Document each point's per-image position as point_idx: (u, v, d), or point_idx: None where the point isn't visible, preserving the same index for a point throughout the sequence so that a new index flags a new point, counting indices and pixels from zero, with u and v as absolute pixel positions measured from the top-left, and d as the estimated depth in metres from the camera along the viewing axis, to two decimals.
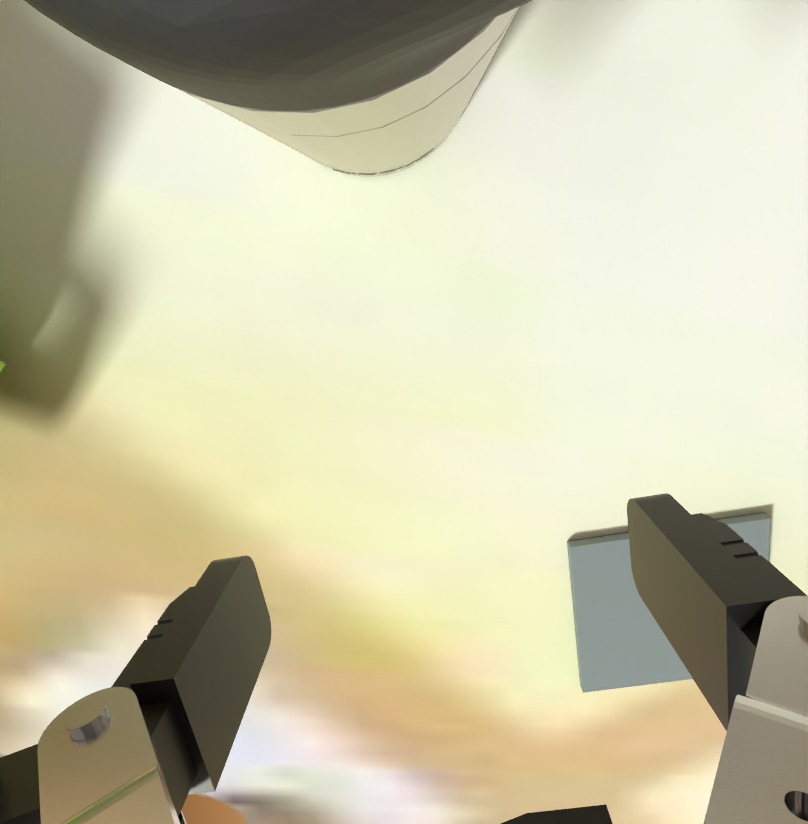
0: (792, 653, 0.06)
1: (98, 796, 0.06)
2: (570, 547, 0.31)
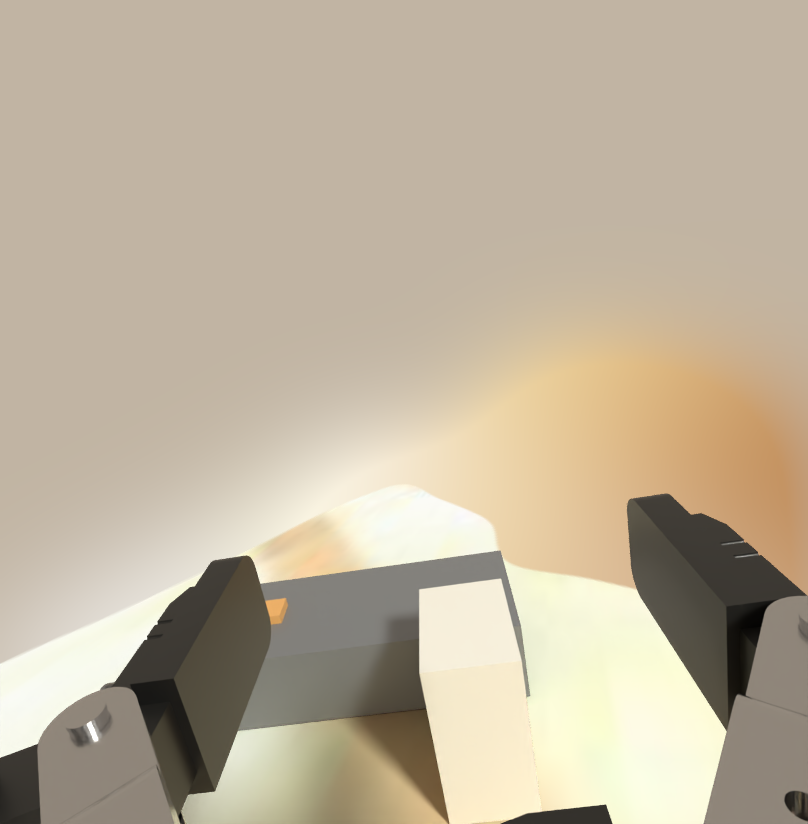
0: (793, 653, 0.06)
1: (98, 796, 0.06)
2: None
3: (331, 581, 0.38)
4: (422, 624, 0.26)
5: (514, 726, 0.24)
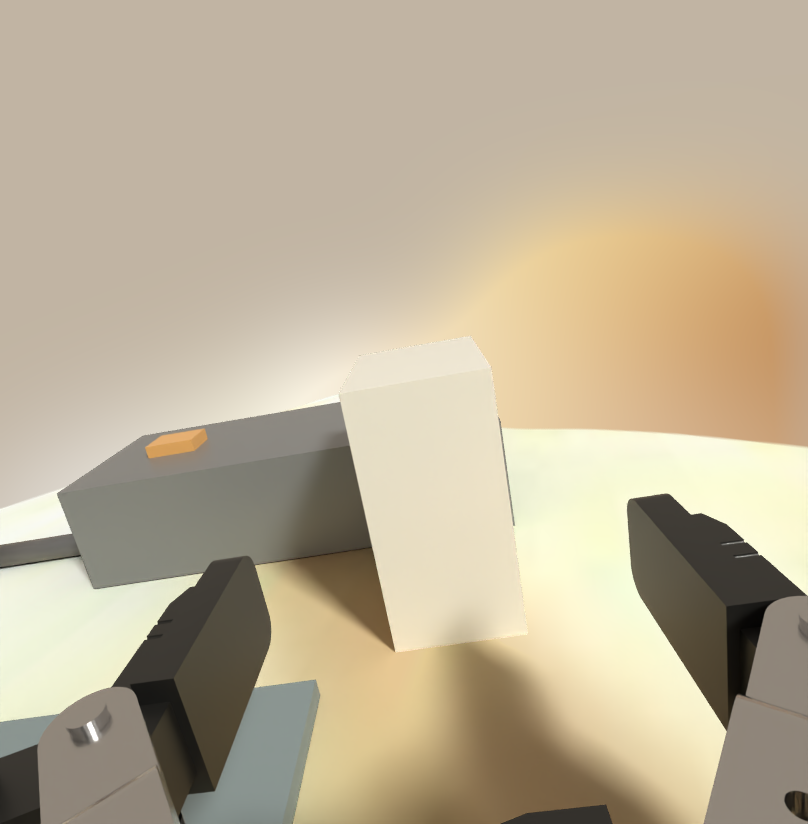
0: (793, 653, 0.06)
1: (98, 796, 0.06)
2: None
3: (267, 418, 0.31)
4: (355, 369, 0.19)
5: (483, 484, 0.16)
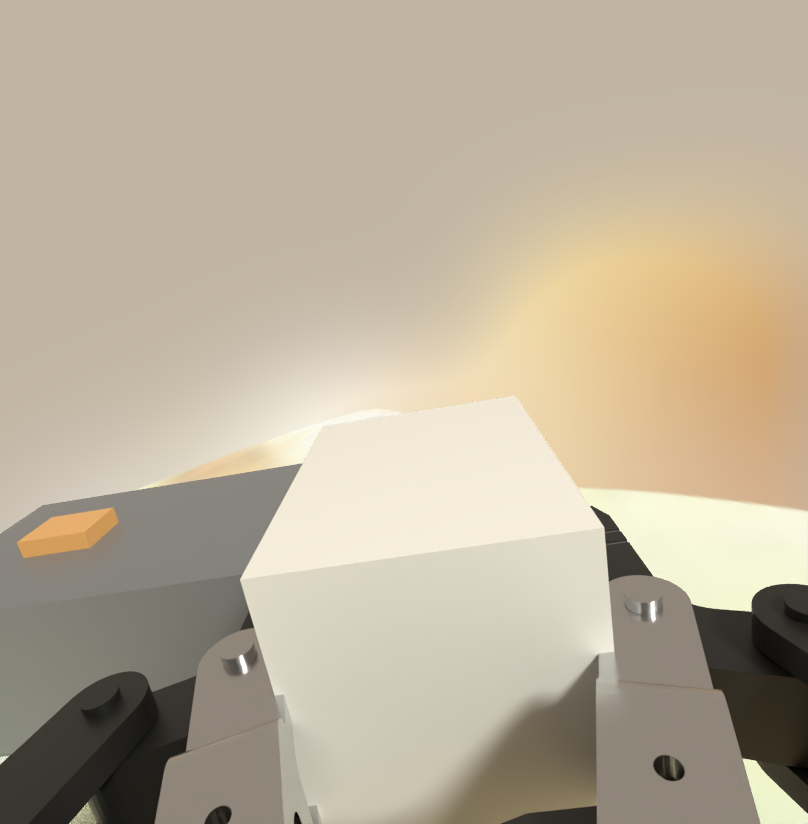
0: None
1: (273, 711, 0.07)
2: None
3: (210, 486, 0.22)
4: (304, 475, 0.10)
5: (569, 763, 0.07)
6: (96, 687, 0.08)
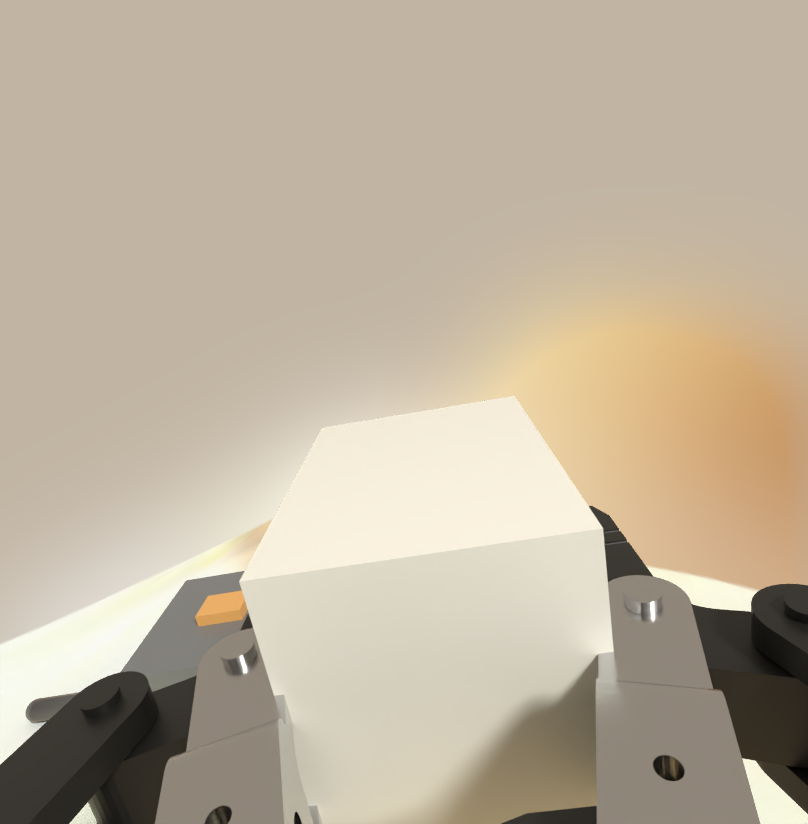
0: None
1: (274, 711, 0.07)
2: None
3: None
4: (303, 476, 0.10)
5: (569, 764, 0.07)
6: (97, 687, 0.08)
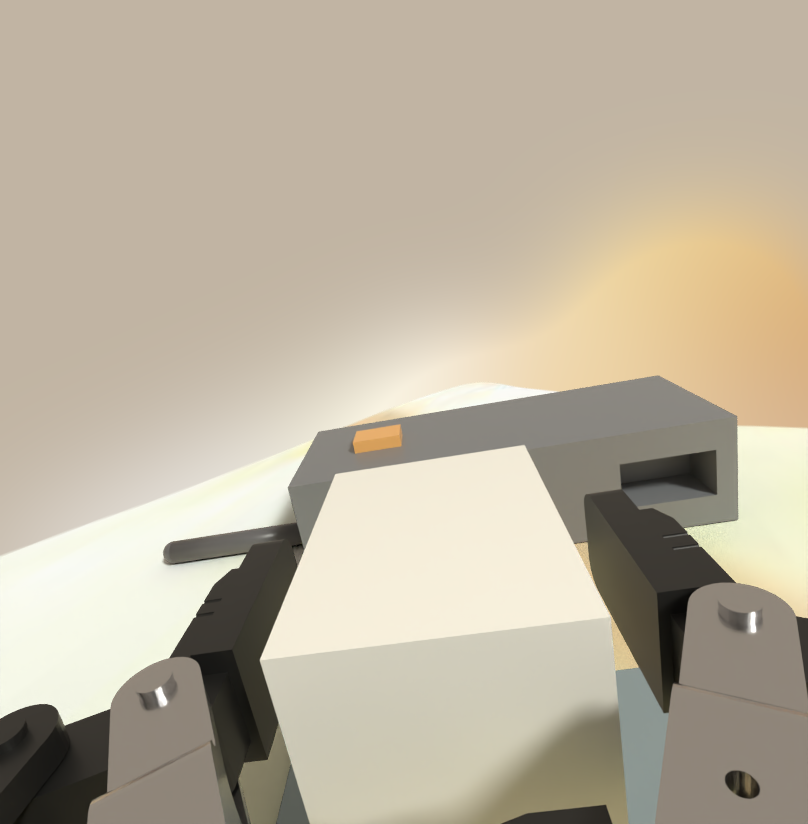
0: (708, 634, 0.07)
1: (178, 752, 0.06)
2: None
3: (449, 415, 0.31)
4: (318, 534, 0.10)
5: None
6: None
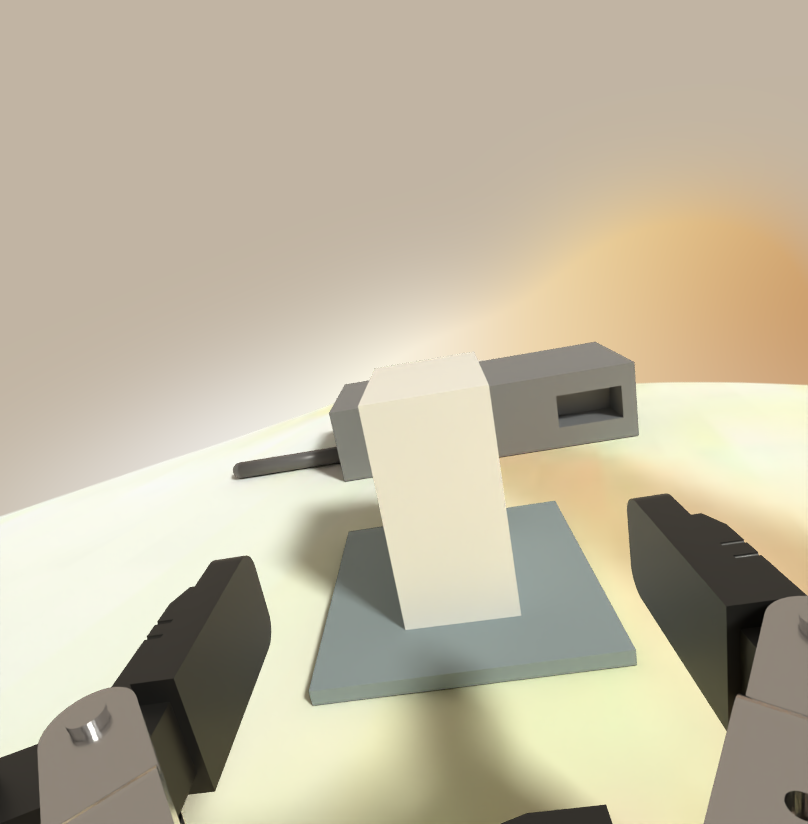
0: (792, 653, 0.06)
1: (98, 796, 0.06)
2: (310, 691, 0.19)
3: None
4: (371, 383, 0.21)
5: (481, 484, 0.19)
6: None
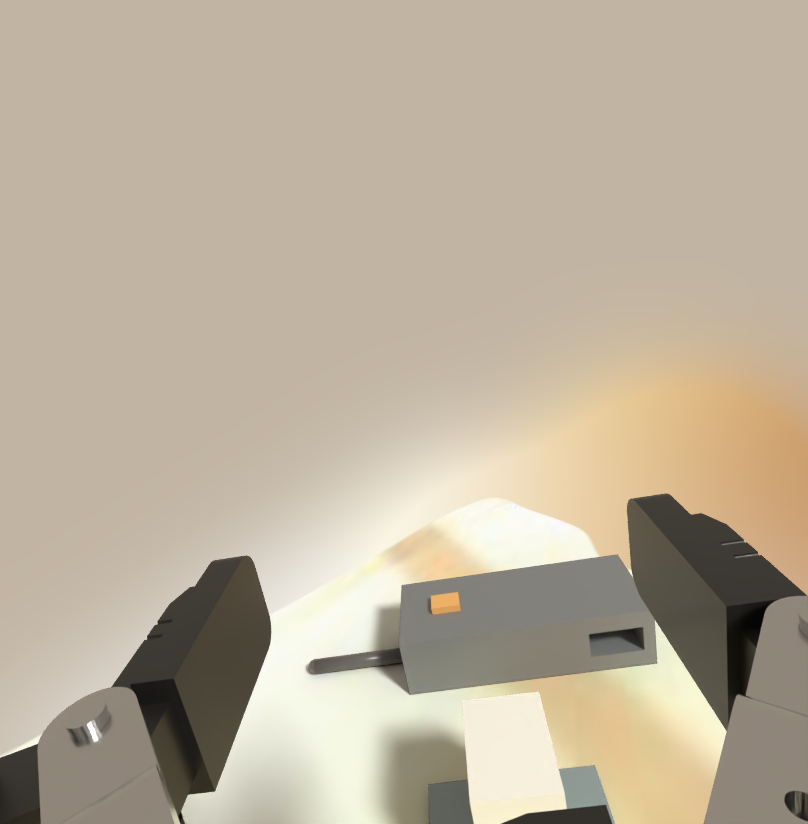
0: (792, 653, 0.06)
1: (98, 796, 0.06)
2: None
3: (486, 579, 0.49)
4: (468, 743, 0.28)
5: None
6: None
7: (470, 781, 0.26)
